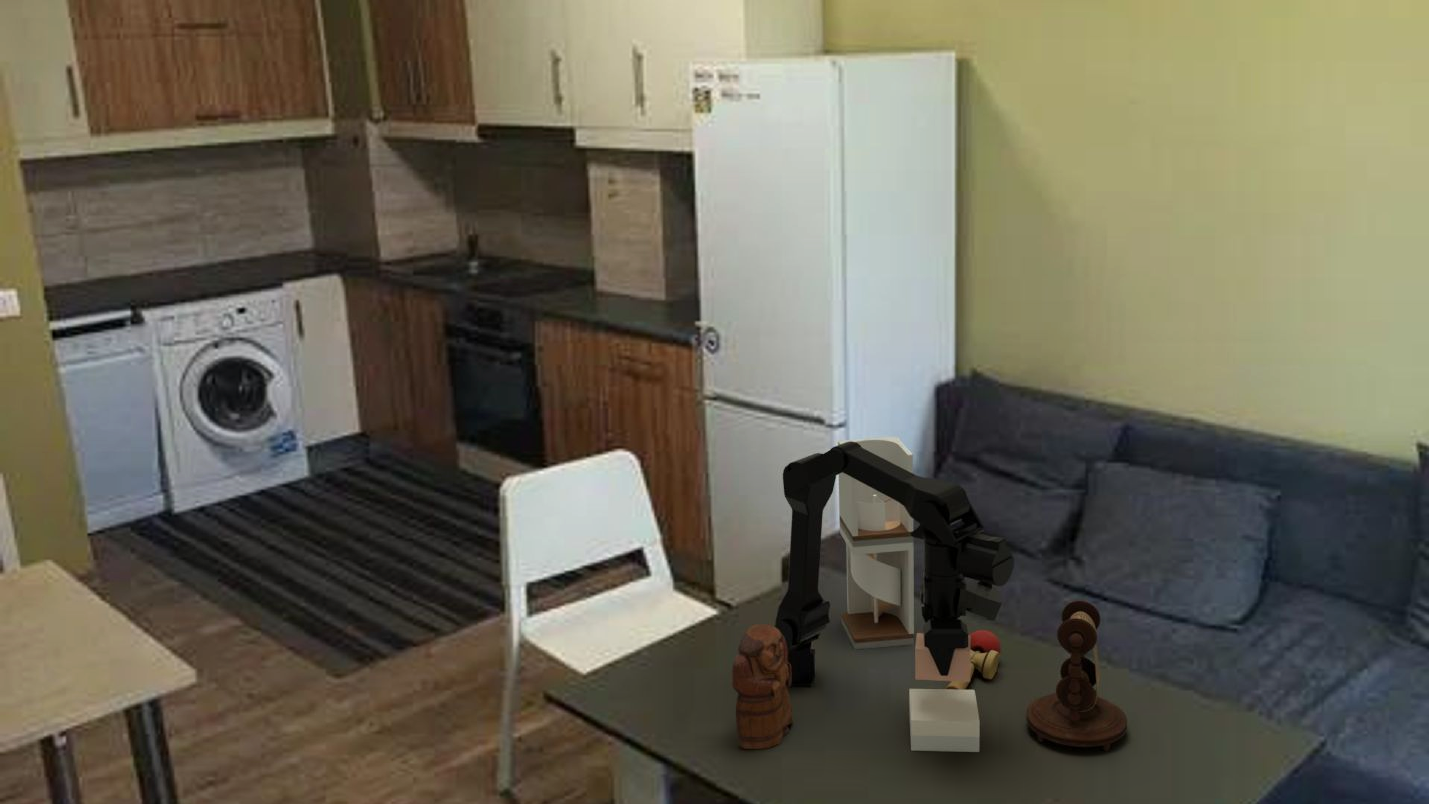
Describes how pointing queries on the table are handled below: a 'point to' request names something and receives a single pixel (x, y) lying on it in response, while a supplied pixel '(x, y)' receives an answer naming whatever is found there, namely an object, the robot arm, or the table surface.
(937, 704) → the white foam block
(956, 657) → the coral brick
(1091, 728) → the brown upright round-based piece
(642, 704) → the table surface
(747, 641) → the wooden figurine
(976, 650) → the kendama
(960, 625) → the robot arm
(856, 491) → the white shelf stand
